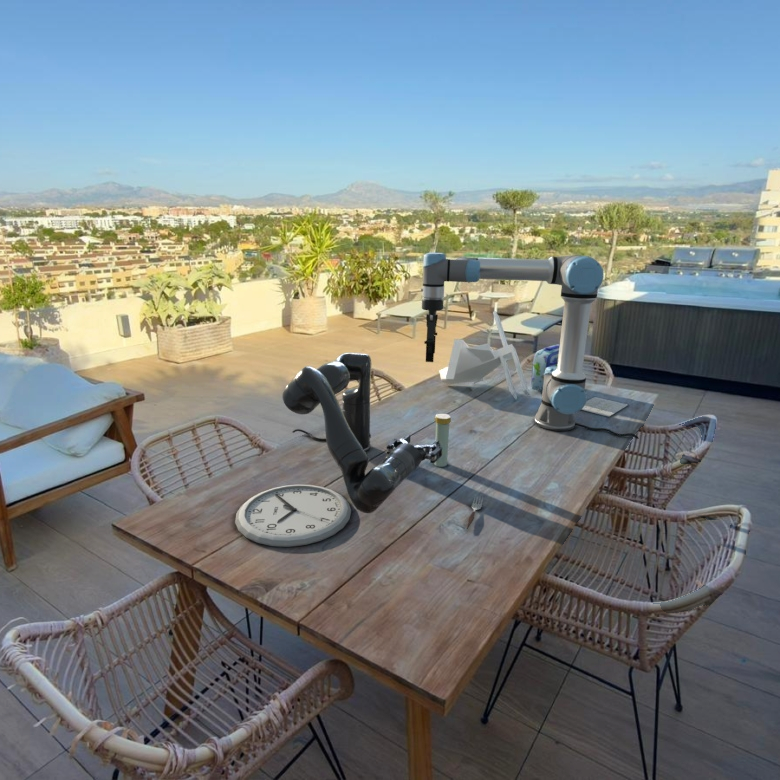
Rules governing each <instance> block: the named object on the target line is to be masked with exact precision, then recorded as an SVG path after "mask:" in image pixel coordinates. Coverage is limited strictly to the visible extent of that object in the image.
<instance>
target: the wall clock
mask: <svg viewBox="0 0 780 780" xmlns="http://www.w3.org/2000/svg"><path fill="white" fill-rule="evenodd" d="M351 514H352V509H351V504H350V503H349V501H348V500H347V499H346V498H345V497H344V496H343V495H341V494H340V493H338V492H337V491H335V490H333V489H330V488H327V487H323V486H318V485H313V484H290V485H289V484H288V485H282V486H277V487H272V488H269V489H267V490H264V491H261V492H259V493H257V494H255V495H254V496H252V497H250V498H248V499H247V500H246V501H245V502H244V503H243V504H242V505H240V507H239V509H238V510H237V511H236V514H235V520H234V524H235V526H236V529H237V531H238V532H239V533H240V534H241V535H242V536H243V537H245V538H246V539H248V540H250V541H252V542H254V543H257V544H261V545H266V546H270V547H283V548H284V547H285V548H286V547H287V548H289V547H298V546H306V545H311V544H313V543H319V542H322V541H324V540H327V539H328V538H330V537H332V536H334V535H336V534H337V533H339V532H340V531H341V530H343V529H345V526H346V525H347V524H348V522H350V518H351Z"/></svg>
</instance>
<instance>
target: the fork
mask: <svg viewBox="0 0 780 780" xmlns="http://www.w3.org/2000/svg"><path fill="white" fill-rule="evenodd" d="M483 499H484V496H482V498H481V495H480V496H479V495H476V496H474V498H473V501H472V504H471V508H472V510H473V511H472V512H471V514H470V515H469V517H468V522H467V525H466V530H469V528H470V526H471V524H472V523H473V521H474V519H475V515H476V514H475V513H476V511H478V510H481V509H482V506H483V501H484V500H483Z"/></svg>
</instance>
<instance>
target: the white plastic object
mask: <svg viewBox="0 0 780 780" xmlns="http://www.w3.org/2000/svg"><path fill="white" fill-rule="evenodd" d="M492 315H493V319H494V321H495V324H496V325H495V326H496V328H497V332H498V335H499V338H500V342H501V345H502V347H500V348H498V349H496V350H495V349H493V348H492V347H491V346H490V344H489V343H488V342H487V343H483V344H479V345H473V346H469V345H468V343H466V342H465V340H464V339H463V338H460V339H458V338H454V340H453V344H452V349H451V353H450V357H449V362H448V366H446V367H444V368H442V369H440V370H439V371H438V372H439V376H440V381H442V383H443V384H444V385H445V386H449V385H458V384H467V383H468V384H469V383H473V384H477V383H480V382H482V381H484V378H485V377H486V376H487V375H489V374H490V373H492V372H494V371H495V370H496V369H497V368H499V367H500V366H502V370H503V373H504V376H505V380H506V383H507V386H508V390H509V393H510V394H511V395H512V397H513V398H514V399H515V400H517V392H516V391H517V390H516V388H515V385H514V381H513V378H512V375H511V371H510V369H509V365H508V361H510V360H513V363H514V366H515V369H516V372H517V376H518V380H519V382H520V385H521V389H522V391H523V393H524V395H525V396H526V397H528V396H531V395H530V390H529V388H528V387H529V386H528V384H527V381H526V378H525V375H524V371H523V369H522V368H523V367H522V366H521V362H520V359H519V355H518V352H517V349H516V347H515V346H514V345H513V343H511V344H508V341H507V337H506V334H505V331H504V328H503V325H502V321H501V318H500V315H499V314H498V312H497V311H496V310H495V311H492Z"/></svg>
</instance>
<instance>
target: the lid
mask: <svg viewBox="0 0 780 780" xmlns="http://www.w3.org/2000/svg"><path fill="white" fill-rule="evenodd" d="M451 417H452V416H451V415H449V414H447V413H436V415H435V417H434V422H435V424H436V423H438V424H449V425H450V423H451V420H452V419H451Z"/></svg>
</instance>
